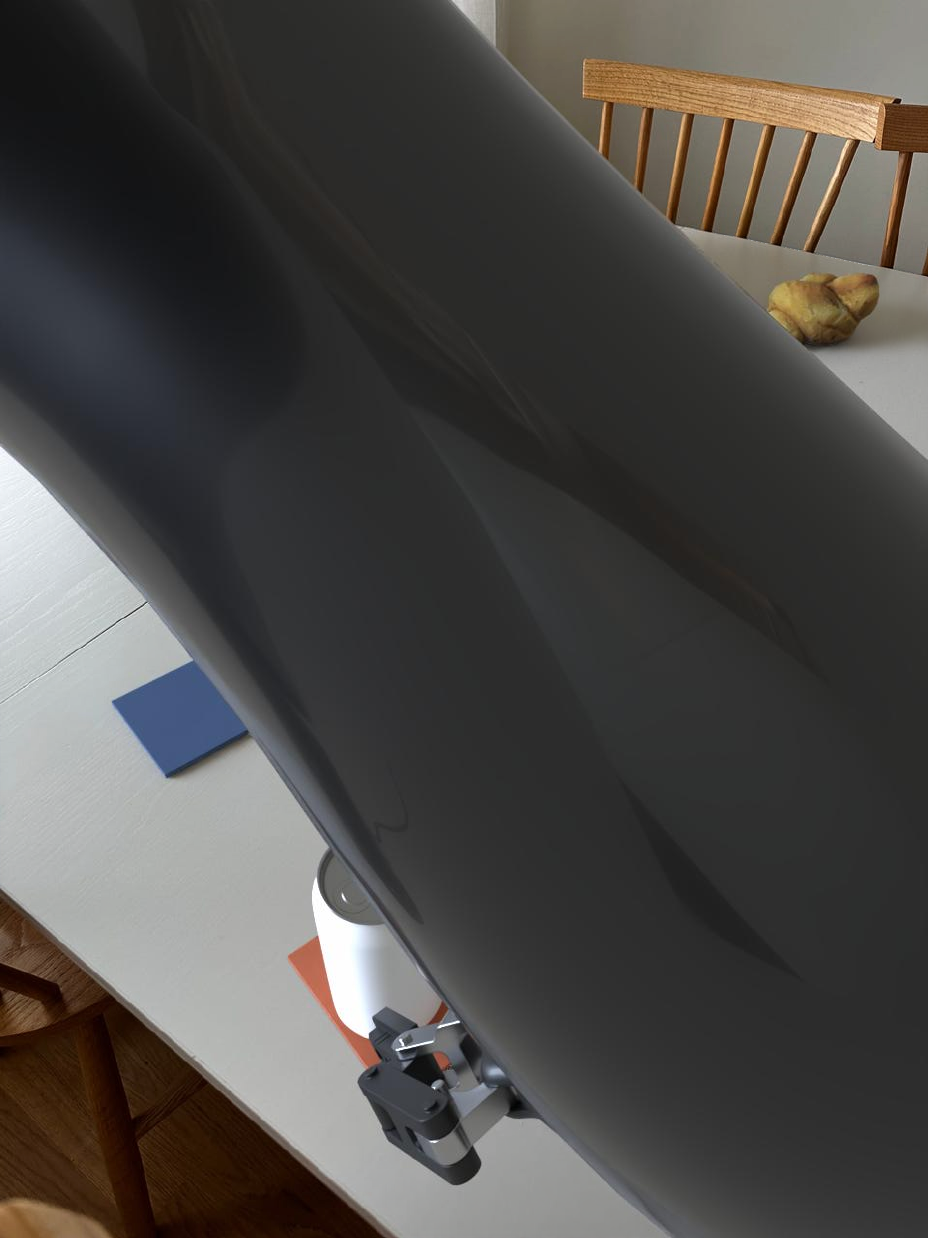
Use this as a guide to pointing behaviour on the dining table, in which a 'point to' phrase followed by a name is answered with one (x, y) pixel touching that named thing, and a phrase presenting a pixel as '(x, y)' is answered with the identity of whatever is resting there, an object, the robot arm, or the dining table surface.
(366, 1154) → the dining table surface
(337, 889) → the can
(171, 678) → the blue mat
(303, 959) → the terracotta mat
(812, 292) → the bread roll
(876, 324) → the dining table surface
